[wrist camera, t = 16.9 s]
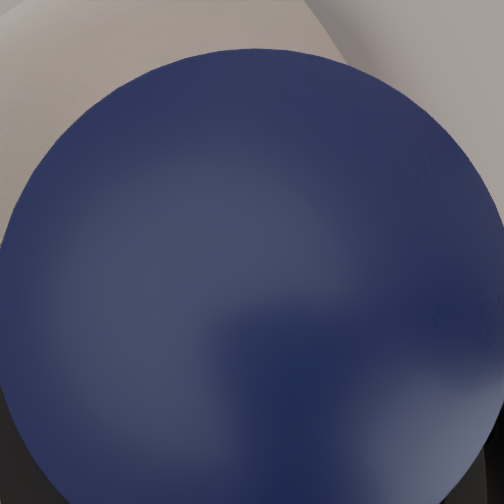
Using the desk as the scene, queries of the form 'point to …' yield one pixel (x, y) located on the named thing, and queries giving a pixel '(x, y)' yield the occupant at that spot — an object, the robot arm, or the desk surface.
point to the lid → (253, 293)
